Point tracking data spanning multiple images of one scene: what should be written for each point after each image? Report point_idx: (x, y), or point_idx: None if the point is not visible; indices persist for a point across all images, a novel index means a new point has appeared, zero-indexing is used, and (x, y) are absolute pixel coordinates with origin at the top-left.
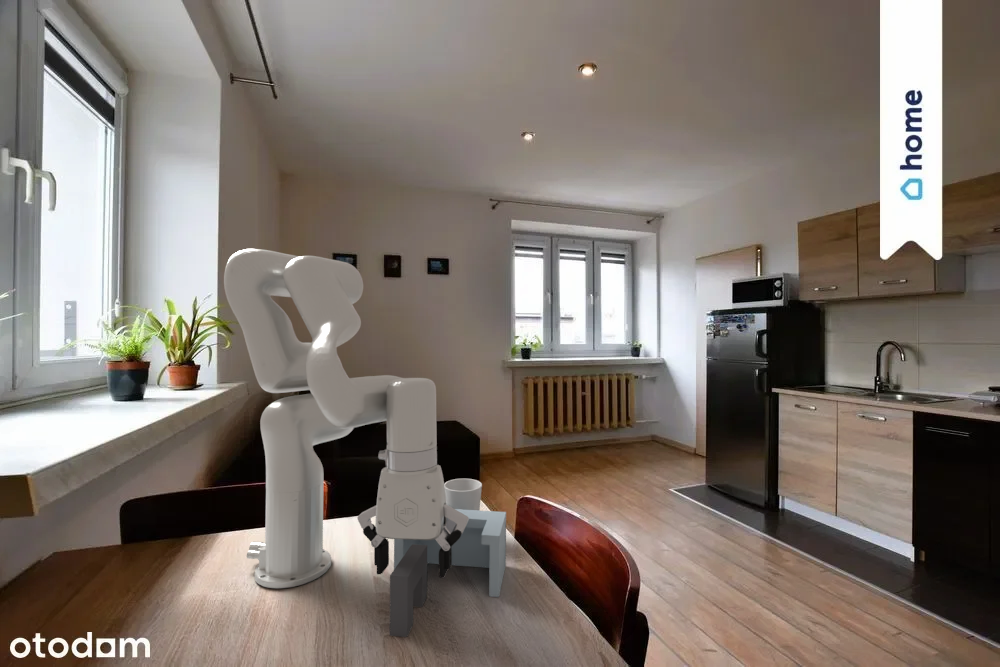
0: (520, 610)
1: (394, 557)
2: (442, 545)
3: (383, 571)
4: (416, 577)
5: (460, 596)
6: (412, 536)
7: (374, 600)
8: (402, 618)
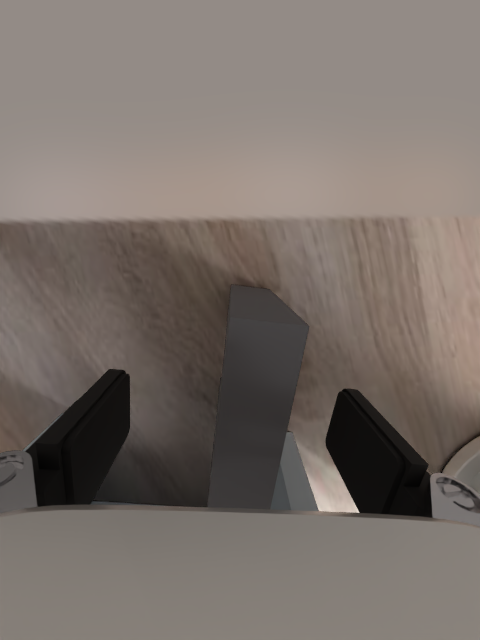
0: (5, 373)
1: (312, 495)
2: (13, 481)
3: (335, 403)
4: (220, 389)
5: (146, 412)
6: (207, 536)
7: (323, 394)
8: (243, 291)
